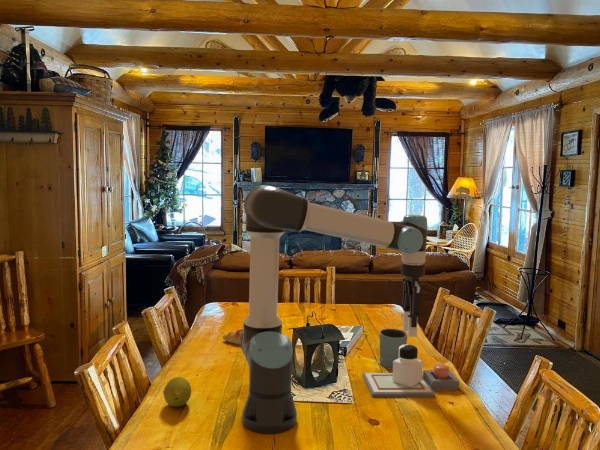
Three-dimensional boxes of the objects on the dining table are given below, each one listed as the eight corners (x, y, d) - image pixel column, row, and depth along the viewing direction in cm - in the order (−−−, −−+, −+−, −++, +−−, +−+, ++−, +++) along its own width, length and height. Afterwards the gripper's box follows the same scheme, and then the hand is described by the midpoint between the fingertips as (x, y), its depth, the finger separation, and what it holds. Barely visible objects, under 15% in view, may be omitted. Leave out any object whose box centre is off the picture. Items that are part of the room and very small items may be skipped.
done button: (450, 381, 159) (451, 369, 159) (436, 381, 159) (436, 369, 158) (445, 375, 164) (445, 364, 164) (431, 375, 164) (431, 364, 163)
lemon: (168, 396, 147) (168, 371, 147) (194, 397, 148) (194, 372, 147) (158, 414, 137) (158, 386, 136) (186, 414, 137) (186, 387, 136)
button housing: (458, 390, 157) (459, 381, 157) (431, 390, 157) (432, 381, 157) (448, 378, 166) (449, 370, 166) (422, 378, 166) (423, 370, 165)
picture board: (434, 396, 152) (435, 391, 152) (372, 396, 151) (372, 392, 151) (419, 375, 168) (419, 371, 168) (362, 375, 167) (362, 371, 167)
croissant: (221, 351, 196) (219, 338, 191) (225, 333, 204) (223, 319, 199) (273, 352, 195) (273, 338, 190) (275, 334, 203) (274, 320, 199)
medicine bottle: (422, 381, 160) (423, 346, 159) (411, 388, 155) (412, 351, 153) (403, 375, 165) (404, 341, 163) (392, 381, 159) (392, 346, 158)
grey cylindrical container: (388, 357, 185) (390, 326, 184) (411, 365, 178) (413, 333, 176) (372, 364, 178) (373, 332, 177) (395, 372, 171) (397, 339, 169)
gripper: (434, 268, 147) (430, 342, 149) (416, 258, 165) (412, 325, 167) (409, 268, 147) (406, 342, 149) (394, 258, 164) (391, 325, 167)
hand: (409, 333), depth 158 cm, fingers open, 5 cm apart
